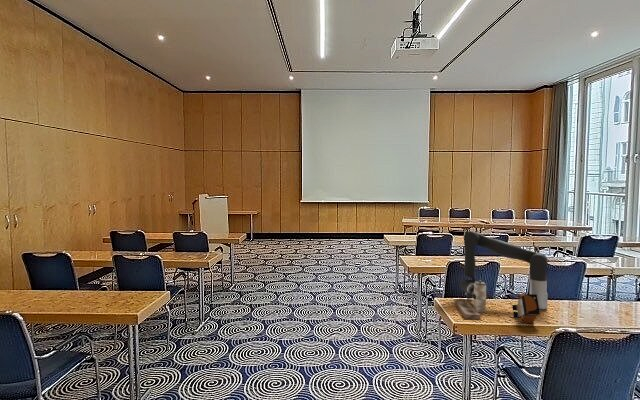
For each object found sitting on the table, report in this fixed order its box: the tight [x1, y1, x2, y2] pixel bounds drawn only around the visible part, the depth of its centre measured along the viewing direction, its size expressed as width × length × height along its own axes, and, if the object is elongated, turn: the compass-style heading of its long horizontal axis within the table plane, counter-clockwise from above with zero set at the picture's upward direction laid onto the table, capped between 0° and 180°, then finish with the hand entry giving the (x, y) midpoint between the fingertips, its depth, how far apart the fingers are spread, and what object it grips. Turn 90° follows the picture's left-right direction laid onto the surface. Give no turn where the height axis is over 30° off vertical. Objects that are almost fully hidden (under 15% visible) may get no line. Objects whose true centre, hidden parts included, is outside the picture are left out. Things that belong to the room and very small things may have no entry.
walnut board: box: [454, 300, 481, 321], centre depth 252 cm, size 8×30×3 cm, turn 173°
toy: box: [511, 293, 541, 324], centre depth 235 cm, size 16×6×20 cm
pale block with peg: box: [473, 279, 487, 313], centre depth 254 cm, size 6×6×18 cm
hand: (480, 297), depth 252 cm, fingers closed on pale block with peg, 5 cm apart
